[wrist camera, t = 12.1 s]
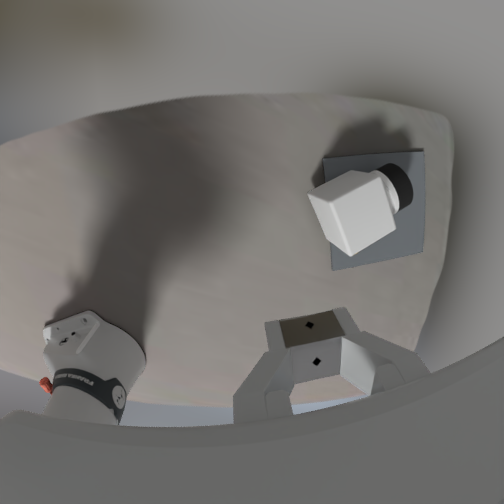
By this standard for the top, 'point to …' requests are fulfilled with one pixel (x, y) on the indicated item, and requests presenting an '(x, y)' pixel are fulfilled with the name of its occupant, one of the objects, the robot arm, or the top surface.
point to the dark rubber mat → (407, 220)
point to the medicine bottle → (361, 206)
